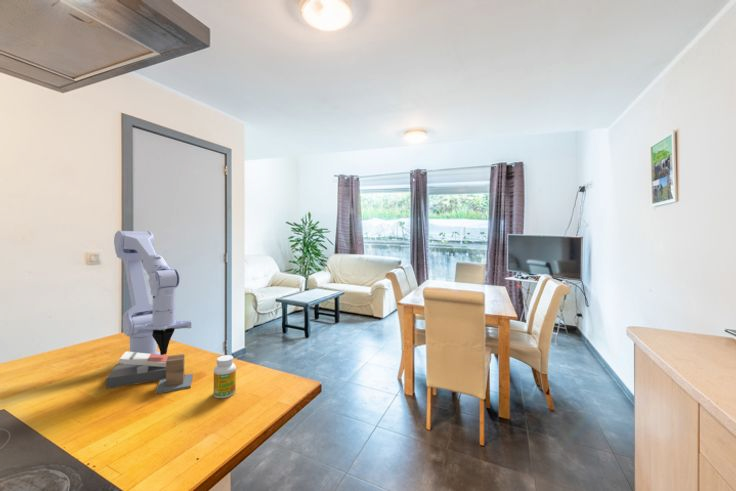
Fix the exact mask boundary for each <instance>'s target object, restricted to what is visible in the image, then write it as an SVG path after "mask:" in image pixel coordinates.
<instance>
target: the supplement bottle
mask: <svg viewBox="0 0 736 491" xmlns="http://www.w3.org/2000/svg"><path fill="white" fill-rule="evenodd" d="M236 374H237V366H236V364H235V363H234V356H233V355H231V354H225V355H222V356H219V357H217V358H216V366H215V367H214V368H213V397H215V398H217V399H225V398H229V397H231V396H233V395H234V394H235V393H236V389H237V387H236V382H237V381H236V380H237V379H236V378H237V377H236Z"/></svg>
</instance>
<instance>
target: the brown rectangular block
mask: <svg viewBox="0 0 736 491" xmlns="http://www.w3.org/2000/svg"><path fill="white" fill-rule="evenodd" d="M184 375H185V353H182V354H175V355H169V356H168V358H167V361H166V387H167V386H172V385H178V384H183V382H184Z"/></svg>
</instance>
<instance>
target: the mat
mask: <svg viewBox="0 0 736 491" xmlns="http://www.w3.org/2000/svg"><path fill="white" fill-rule="evenodd" d="M193 377H194V373H187V374H184V382H183V384H178V385H172V386H167V387H166V378H161V380H159V383H158V385H157V388H156V390H155V394H162V393H167V392H172V391H173V392H174V391H179V390H184V389H191V386H192V382H193Z"/></svg>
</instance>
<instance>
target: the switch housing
mask: <svg viewBox="0 0 736 491" xmlns="http://www.w3.org/2000/svg"><path fill="white" fill-rule="evenodd" d="M161 378H166V367H157V366H148V365H146V366H145V365H134V364H122V363H120V364H116V365H115V367H114V368H112V370H111V371H110V373H109V374H108V375H107V377H106V379H105V380H106V381H105V387H106V388H105V389H111V388H117V387H125V386H129V385H130V386H131V385H136V384H137V385H138V384H142V383H148V382H154V381H156V382H157V381H160V380H161Z"/></svg>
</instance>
